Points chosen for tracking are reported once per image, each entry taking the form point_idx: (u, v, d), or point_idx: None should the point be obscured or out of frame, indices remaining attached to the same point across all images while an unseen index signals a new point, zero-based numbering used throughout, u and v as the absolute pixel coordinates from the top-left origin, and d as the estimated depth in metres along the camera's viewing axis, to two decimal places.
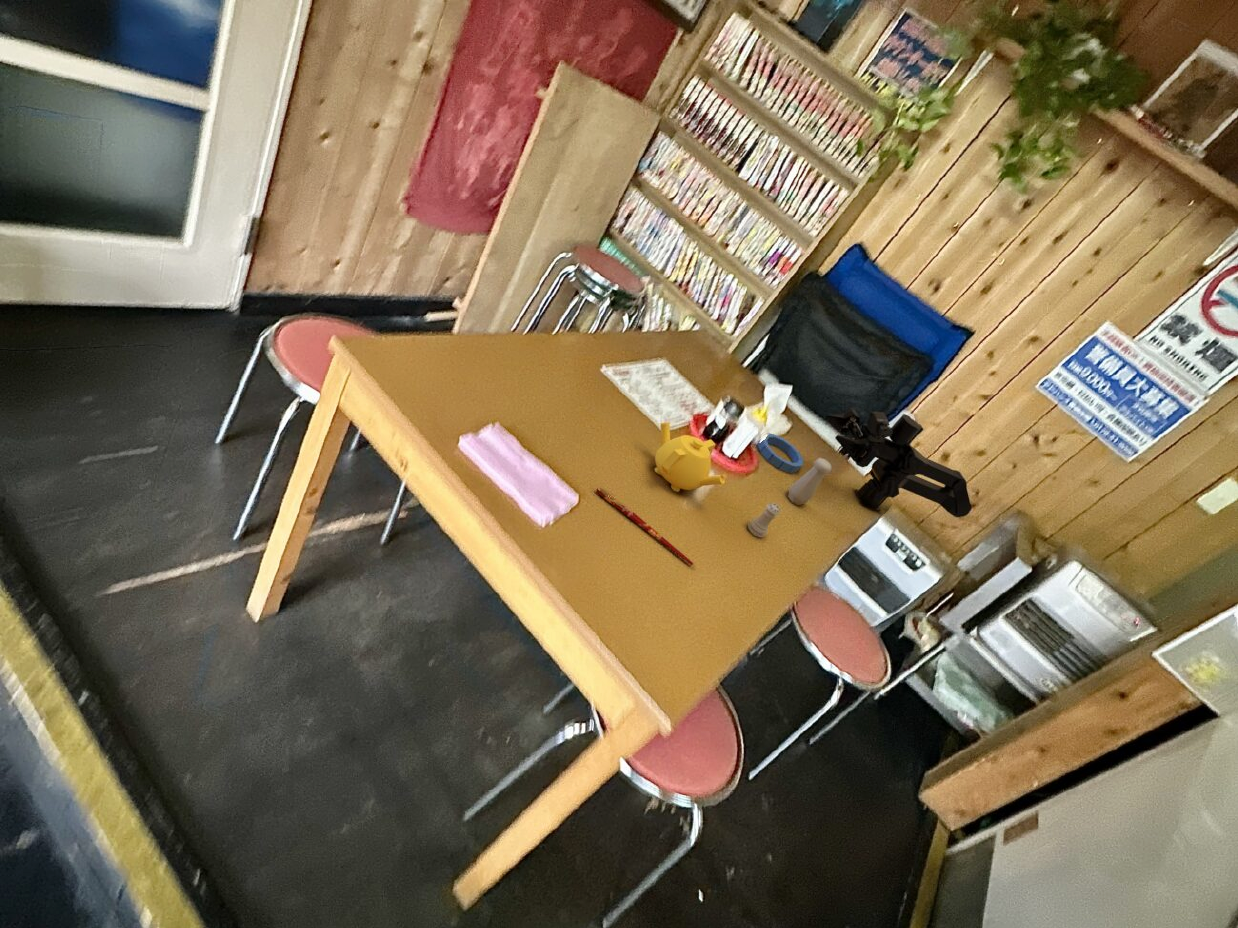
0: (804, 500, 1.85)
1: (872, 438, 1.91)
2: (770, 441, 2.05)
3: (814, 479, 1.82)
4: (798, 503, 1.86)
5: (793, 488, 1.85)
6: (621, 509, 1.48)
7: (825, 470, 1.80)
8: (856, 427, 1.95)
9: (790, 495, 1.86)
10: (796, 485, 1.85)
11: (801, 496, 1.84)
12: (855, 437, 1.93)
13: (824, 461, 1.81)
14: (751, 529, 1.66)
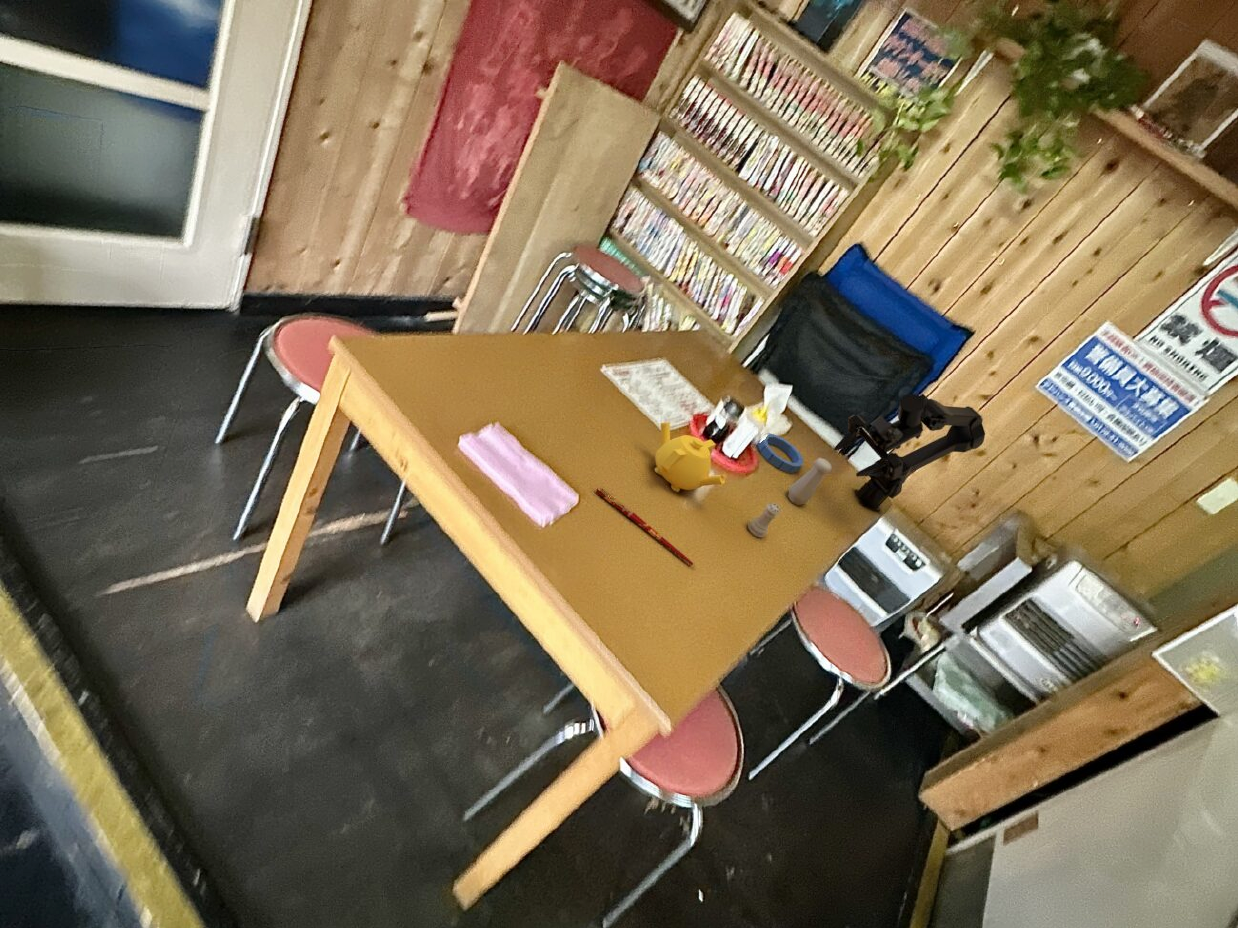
0: (804, 500, 1.85)
1: (888, 444, 1.83)
2: (770, 441, 2.05)
3: (814, 479, 1.82)
4: (798, 503, 1.86)
5: (793, 488, 1.85)
6: (621, 509, 1.48)
7: (825, 470, 1.80)
8: (867, 435, 1.87)
9: (790, 495, 1.86)
10: (796, 485, 1.85)
11: (801, 496, 1.84)
12: (873, 448, 1.86)
13: (824, 461, 1.81)
14: (751, 529, 1.66)
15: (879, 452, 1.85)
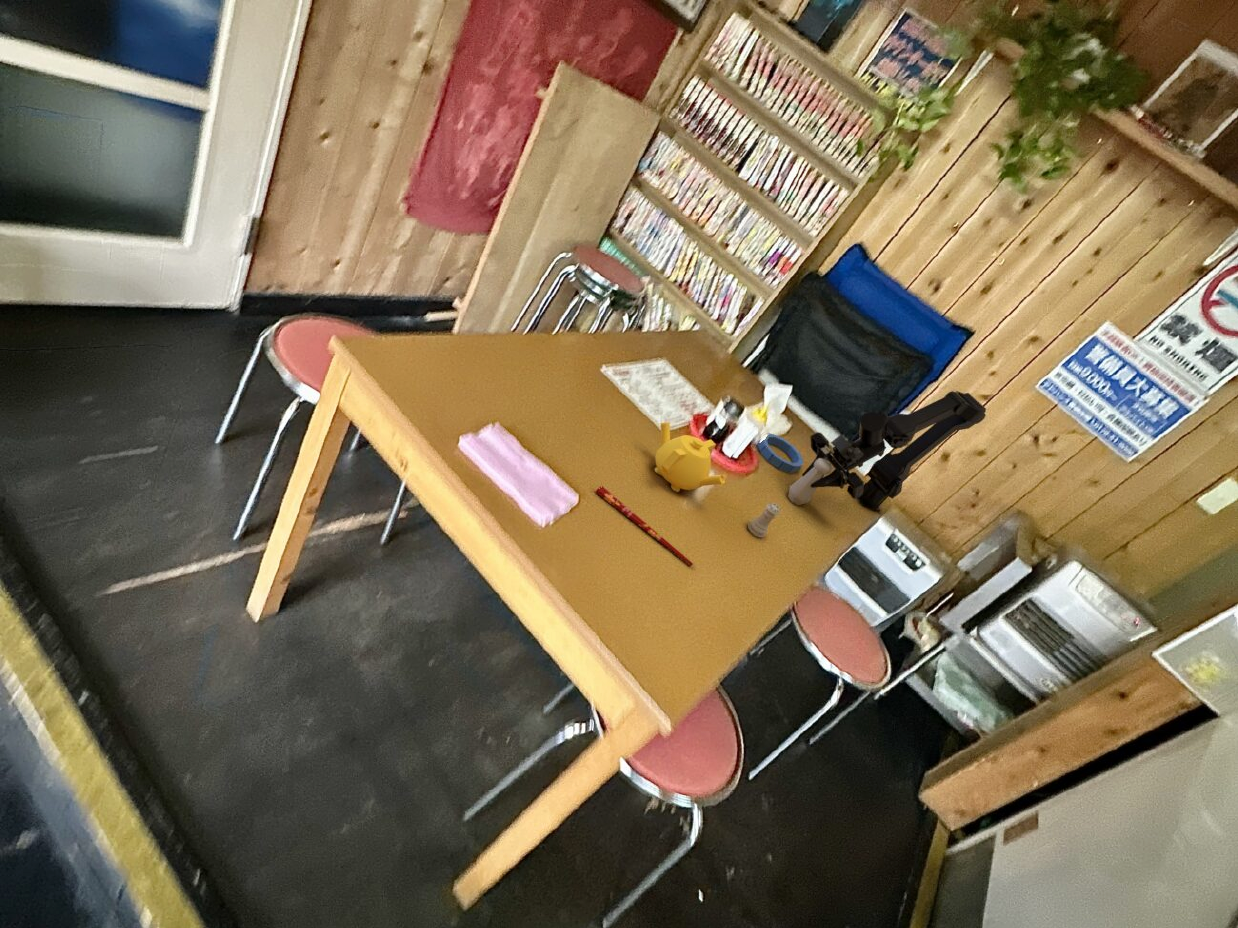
0: (804, 500, 1.85)
1: (849, 463, 1.81)
2: (770, 441, 2.05)
3: (814, 479, 1.82)
4: (798, 503, 1.86)
5: (793, 488, 1.85)
6: (621, 509, 1.48)
7: (825, 470, 1.80)
8: (836, 461, 1.84)
9: (790, 495, 1.86)
10: (796, 485, 1.85)
11: (801, 496, 1.84)
12: (828, 459, 1.86)
13: (824, 461, 1.81)
14: (751, 529, 1.66)
15: (834, 463, 1.84)
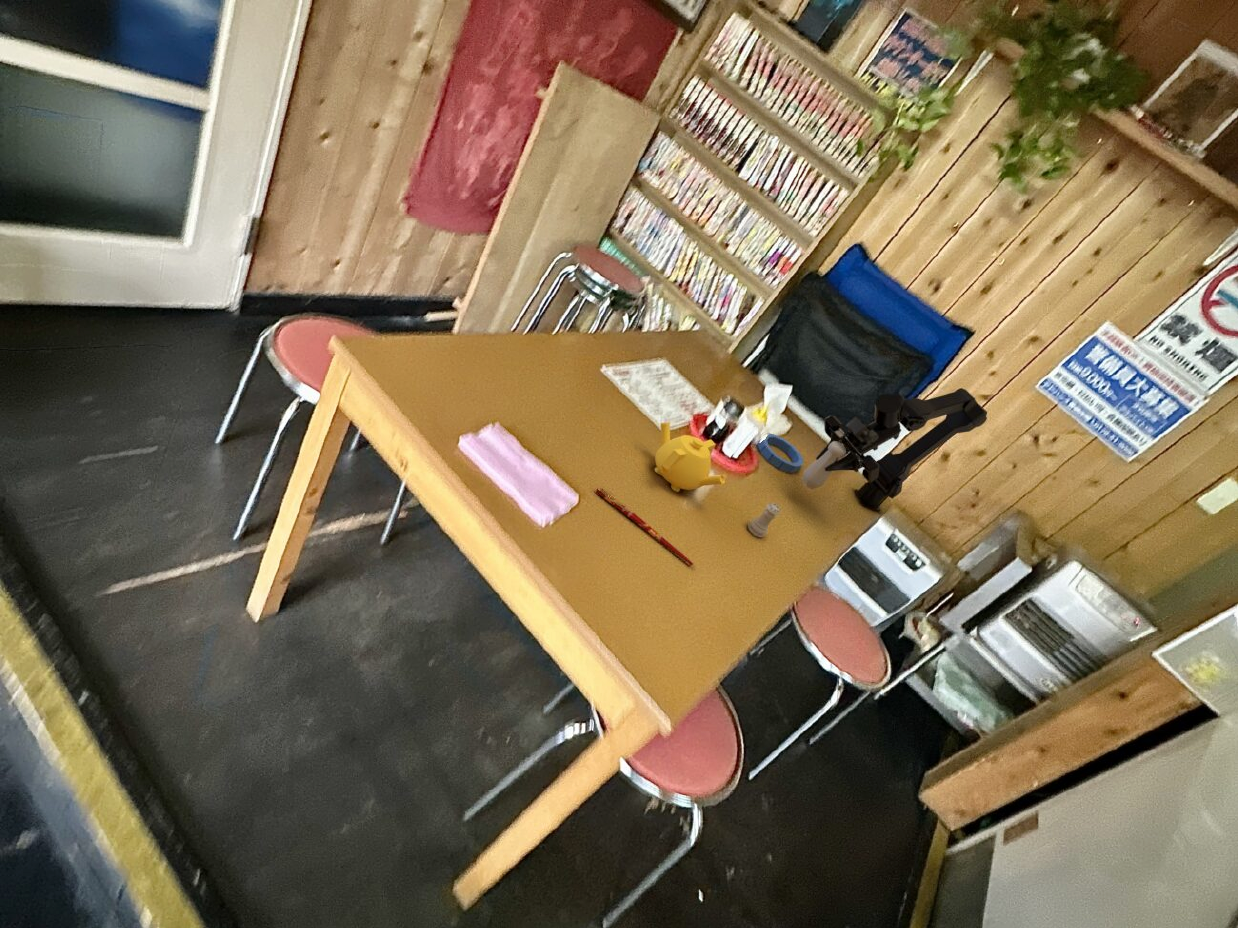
0: (818, 484, 1.82)
1: (864, 446, 1.78)
2: (770, 441, 2.05)
3: (828, 462, 1.80)
4: (812, 487, 1.83)
5: (807, 472, 1.83)
6: (621, 509, 1.48)
7: (839, 453, 1.77)
8: (850, 444, 1.81)
9: (804, 479, 1.84)
10: (810, 469, 1.82)
11: (815, 480, 1.81)
12: (842, 442, 1.83)
13: (839, 444, 1.79)
14: (751, 529, 1.66)
15: (848, 446, 1.81)
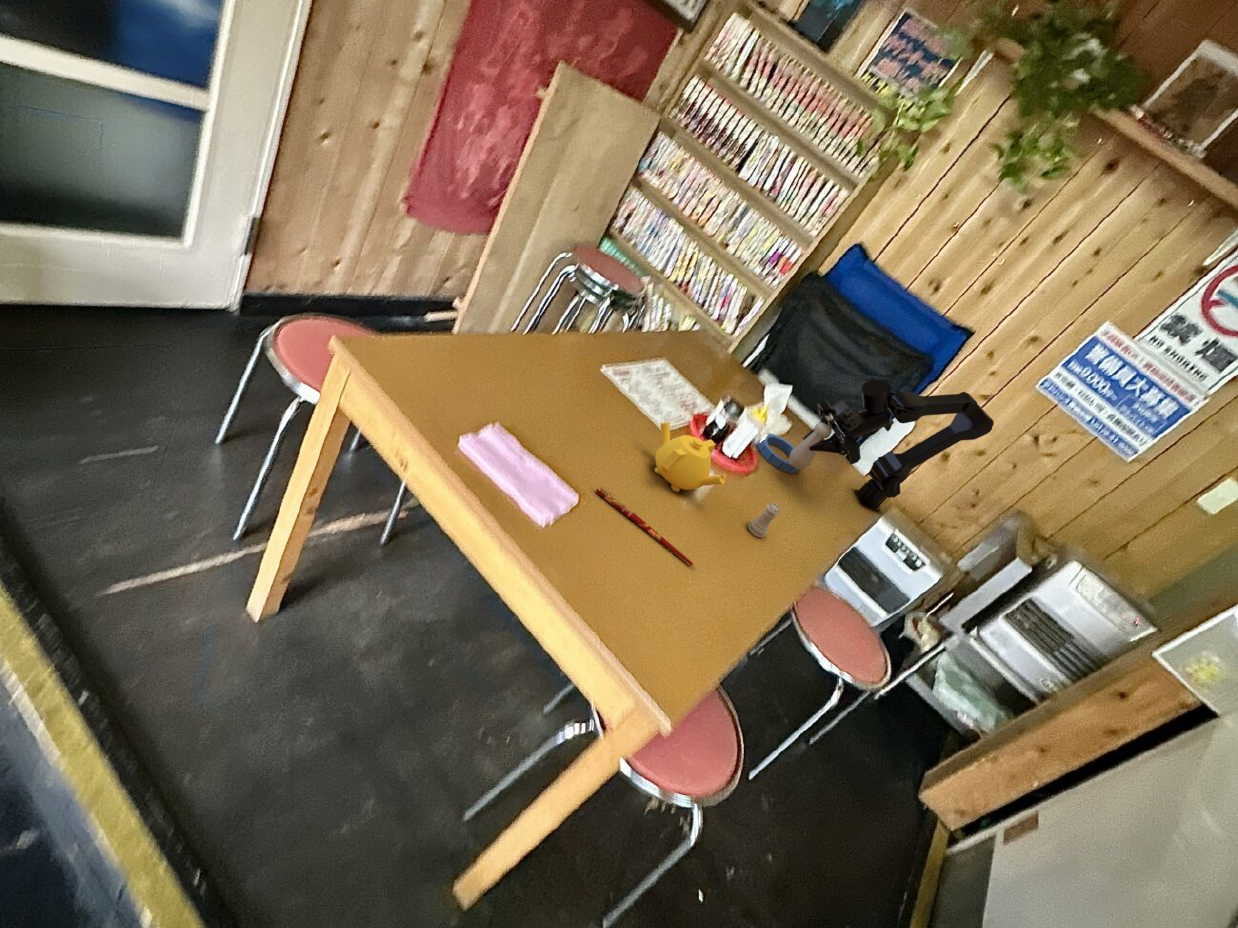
0: (802, 463, 1.88)
1: (849, 429, 1.83)
2: (770, 441, 2.05)
3: (812, 441, 1.85)
4: (797, 466, 1.89)
5: (793, 451, 1.89)
6: (621, 509, 1.48)
7: (823, 433, 1.83)
8: (838, 428, 1.86)
9: (790, 458, 1.90)
10: (796, 448, 1.89)
11: (799, 459, 1.87)
12: (832, 427, 1.88)
13: (824, 425, 1.85)
14: (751, 529, 1.66)
15: (836, 430, 1.87)
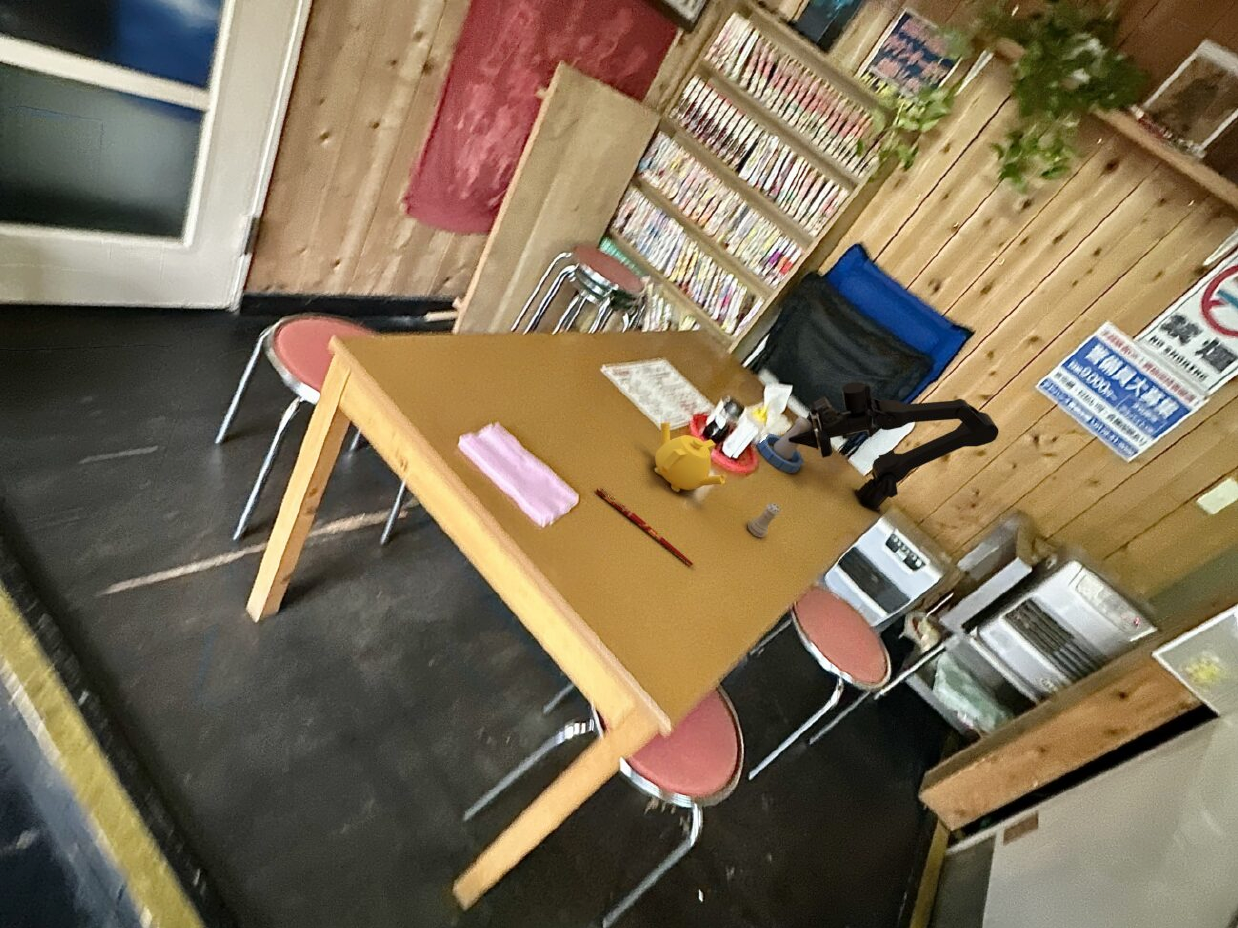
0: (782, 454, 1.99)
1: (826, 424, 1.93)
2: (770, 441, 2.05)
3: (792, 433, 1.97)
4: None
5: (776, 442, 2.01)
6: (621, 509, 1.48)
7: (801, 425, 1.94)
8: (819, 425, 1.96)
9: (773, 449, 2.02)
10: (779, 440, 2.00)
11: (779, 449, 1.99)
12: (816, 425, 1.99)
13: (805, 419, 1.96)
14: (751, 529, 1.66)
15: (818, 427, 1.97)
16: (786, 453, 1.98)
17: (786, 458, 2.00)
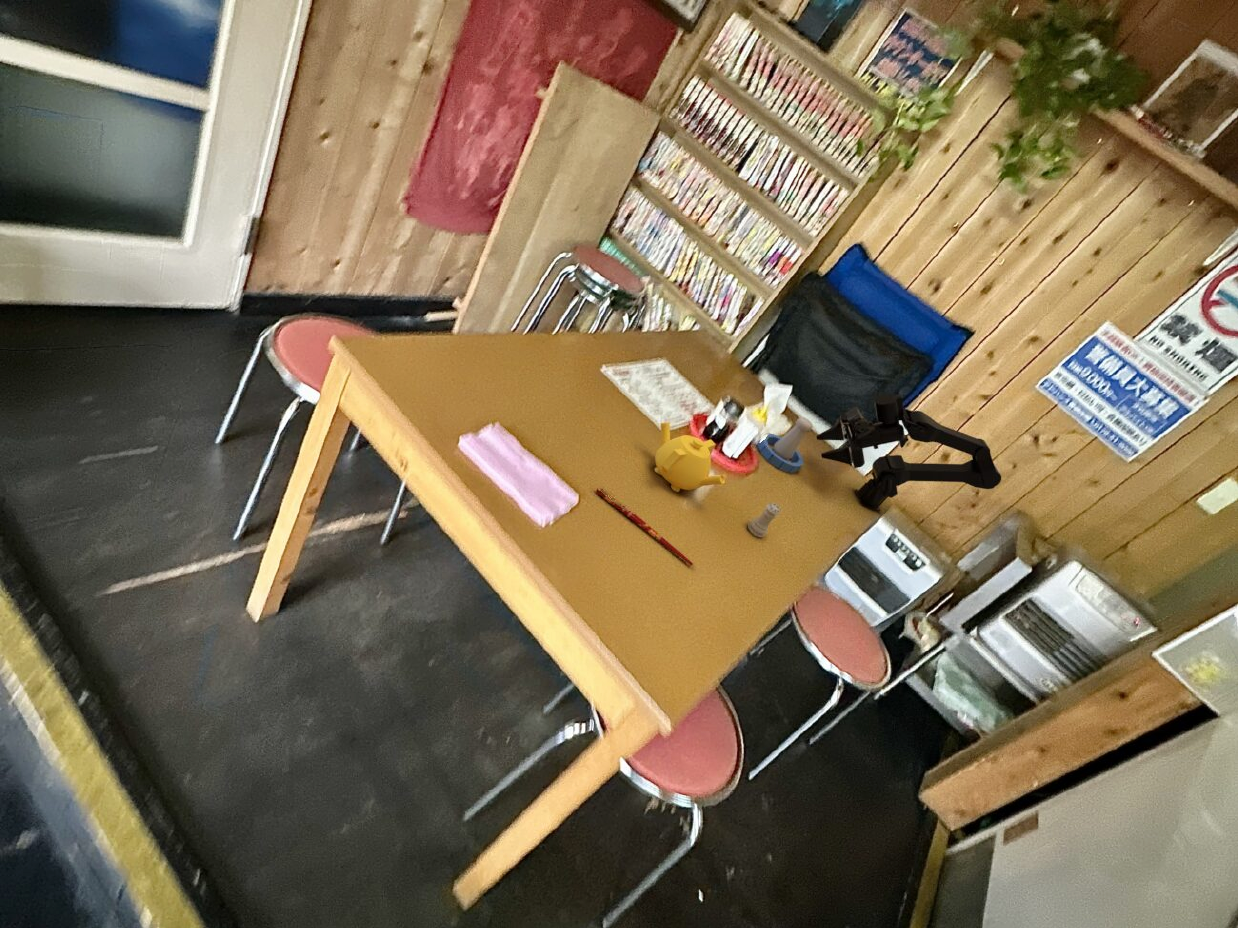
0: (782, 454, 1.99)
1: (858, 435, 1.94)
2: (770, 441, 2.05)
3: (793, 434, 1.97)
4: None
5: (776, 442, 2.01)
6: (621, 509, 1.48)
7: (802, 425, 1.95)
8: (848, 430, 1.99)
9: (773, 449, 2.02)
10: (779, 440, 2.00)
11: (779, 449, 1.99)
12: (849, 441, 1.97)
13: (806, 419, 1.96)
14: (751, 529, 1.66)
15: None
16: (786, 453, 1.99)
17: (786, 458, 2.00)
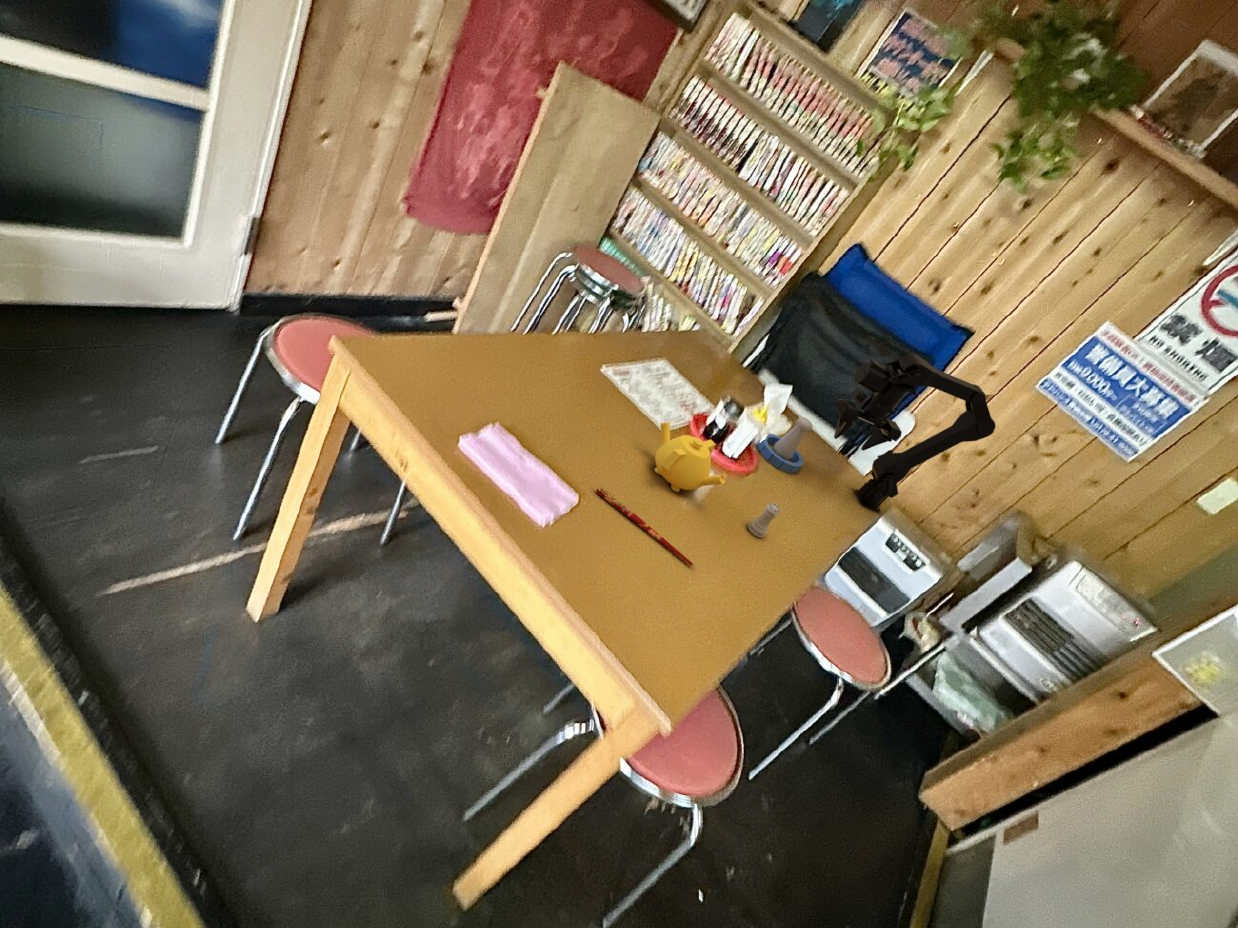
0: (782, 454, 1.99)
1: (861, 404, 1.93)
2: (770, 441, 2.05)
3: (793, 434, 1.97)
4: None
5: (776, 442, 2.01)
6: (621, 509, 1.48)
7: (802, 425, 1.95)
8: None
9: (773, 449, 2.02)
10: (779, 440, 2.00)
11: (779, 449, 1.99)
12: None
13: (805, 419, 1.96)
14: (751, 529, 1.66)
15: None
16: (786, 453, 1.99)
17: (786, 458, 2.00)
